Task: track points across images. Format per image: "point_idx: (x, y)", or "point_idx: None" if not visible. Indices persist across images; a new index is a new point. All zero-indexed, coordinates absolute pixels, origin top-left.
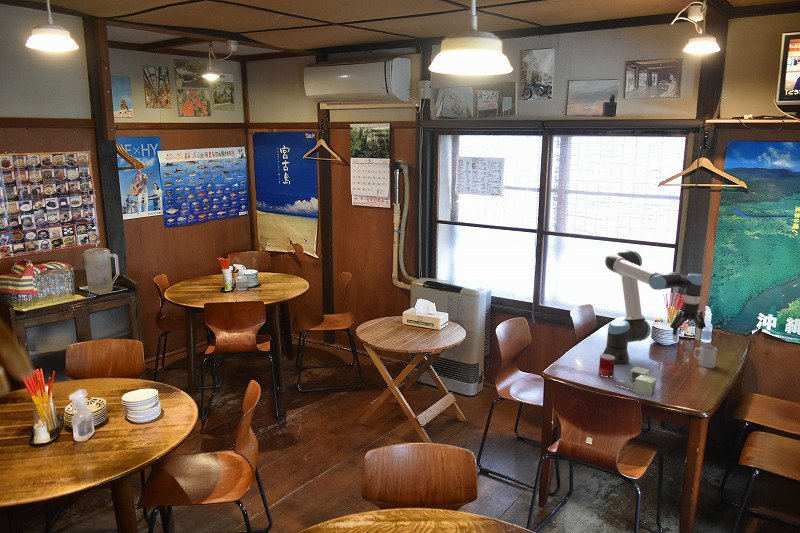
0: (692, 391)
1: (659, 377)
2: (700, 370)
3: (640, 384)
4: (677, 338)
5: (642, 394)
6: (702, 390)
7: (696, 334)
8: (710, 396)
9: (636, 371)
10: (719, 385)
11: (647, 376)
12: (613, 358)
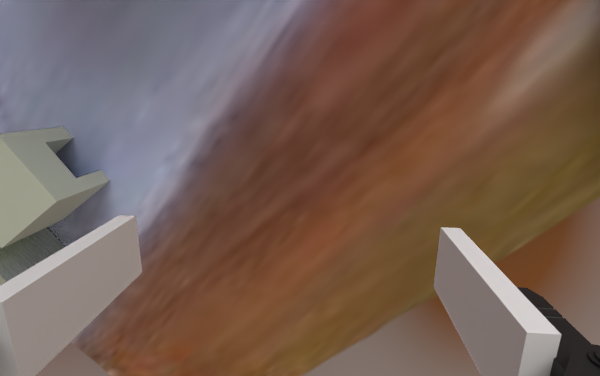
0: (268, 290)
1: (212, 116)
2: (531, 59)
3: None
4: (117, 293)
5: None
6: (322, 291)
7: (464, 283)
8: (311, 346)
9: None
10: None
11: (3, 279)
12: None
